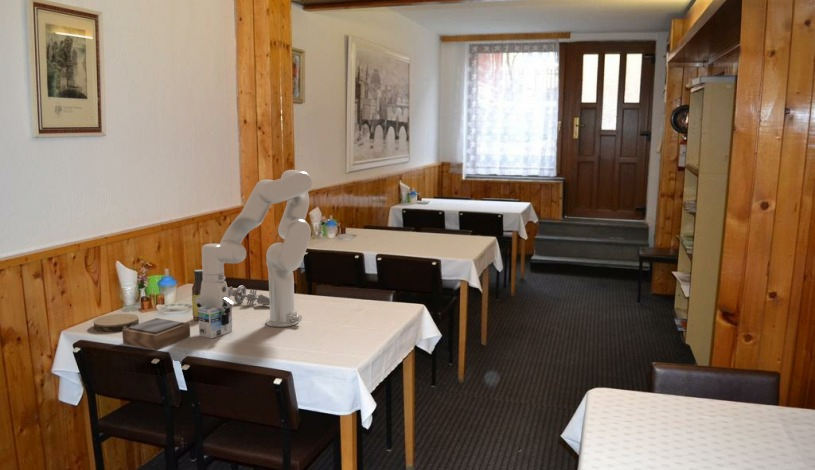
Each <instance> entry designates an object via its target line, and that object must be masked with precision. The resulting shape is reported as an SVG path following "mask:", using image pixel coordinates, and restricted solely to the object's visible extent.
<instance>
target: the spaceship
mask: <svg viewBox="0 0 815 470" xmlns="http://www.w3.org/2000/svg"><path fill="white" fill-rule="evenodd" d="M227 288H228V294H229V298H231V297H234V298H233V299H234V302H235V303H237V304H241V303H243V302H244V300H247V301H246V305H249V306H253V305H254V303H255V302H256V303H257V304H258V305H262V306H270V304H269V295H268V296H267V295H263V294H258V295H257V289H252V288H250V291H249V292H247V288H246V286H244V285H239V286H238V287H237V288H236V289H234V286H229V287H227Z"/></svg>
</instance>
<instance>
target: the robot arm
mask: <svg viewBox="0 0 815 470" xmlns="http://www.w3.org/2000/svg"><path fill="white" fill-rule="evenodd" d="M312 186H313V179H312V177H311V175H310V174H309V173H307V172H306V171H304V170H303V171H302V170H296V169H287V170H285V171H284V172H283V173H281V177H280V178H278V179H275V180H273V179H261V180H259V181H258V182H257V183H256V184H255V186H254V187H253V189H252V192H251V193H250V195H249V196H248V199H247V200H246V203H245V204H244V207H243V208H242V210H241V212H240V213H239V214H238V215H237V216H236V218H235V219H234V220H233V221H232V222H231V223H230V225H229V226H228V228H226V230H225V232H224V234H223V236H222V238H221V239H220V242H219V243H206V244H204V245H202V246H201V265H202V267H201V268H202V269H201V270H202V273H203V281H202V283H201V293H200V296H199V297H197V298H195V301H196V303H197V306H198V308H199V307H203V306H207V307H213V308H217V309H220V311H221V312H222V314H223V315H221V319H222V325H223V326H224V325H226V324H229V313H230V312H231V310H233V308H234V306H235V303H234V302H233V301H232V300H230V297H229V294H228V288H229V287H228V285H227V281H226V278H227V277H226V276H225V267H224V265H225V264H239V263H241V262H243V261H244V260H245V259H246V258H247V250H246V247H244V245H242V242H243V240H244V239H245V237H246V236H247V235H248V234H249V233H250V231H252V230H254V229H256V228H258V227H259V226H260V225H261V224H262V223H263V221H264V220H265V218H266V216H267V214H268V212H269V210H270V208H271V207H272V204H273V205H274V204H275V205H277V204H280V203H283V202H286V204H285V208H284V211H283V214H282V216H281V220H280V222H279V223H278V229H277V233H278V236H279V237H280V238H282V239H283V242H276V243H273V244H271V245H270V246H269V247H268V248H267V251H266V255H265V257H266V258H265V259H266V260H265V261H266V266H267V272H268V297H269V304H270V305H269V318H268V317H267V318H266V320H265V323H266V324H265V325H267V326H270V327H275V328H285V327H286V328H287V327H291V326H294V325H295V326H296V325H297V324H298V323H300V322H302V320H303V315H299V314H298V311H297V310H295V279H294V278H295V277H294V271H296V270H298V268H299V267H300V266H301V265H302V262H303V261H304V258H305V257H304V256H305V255H306V251H307V248H308V247H309V243H310V240H311V238H312V237H311V236H312V228H311V226H310V224H309V223H308V222H307V221H306V218H307V214H308V211H309V208H310V196H309V191H310V190H311V188H312ZM224 309H225V310H224Z"/></svg>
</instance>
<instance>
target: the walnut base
mask: <svg viewBox="0 0 815 470" xmlns="http://www.w3.org/2000/svg"><path fill="white" fill-rule="evenodd" d="M121 333H122V343H123V344H125V345H131V346H136V347H141V348H147V349H151V350H155V351H156V350H160V349H163V348H164V347H168V346H170V345H172V344H175V343H177V342H180V341H182V340H186V339H188V338H190V337H191V327H190V323H188V322H184V321H177V320H170V319H165V318H159V317H158V318H157V317H156V318H153V319H150V320H147V321H144V322H141V323H140V322H139V324H137V325H134V326H131V327H129V328H126V329H123V330H122V331H121Z"/></svg>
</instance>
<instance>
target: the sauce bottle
mask: <svg viewBox="0 0 815 470" xmlns="http://www.w3.org/2000/svg"><path fill="white" fill-rule="evenodd" d="M193 274H194V283H193V285H192V287H191V305H192V306H191V307H192V316H193V317H192V318H193V320H194V321H196V322H199V314H198V306H197V303H196V301H195V298H197V297H199V296H200V293H201V283H202V281H203V273H202V269H194V271H193Z"/></svg>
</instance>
